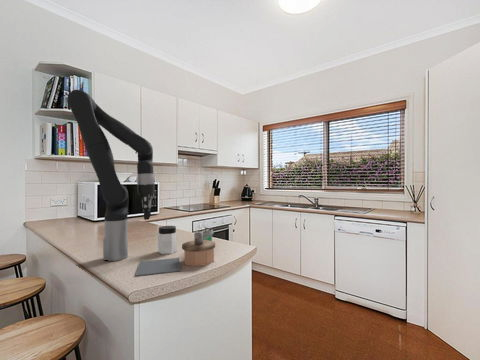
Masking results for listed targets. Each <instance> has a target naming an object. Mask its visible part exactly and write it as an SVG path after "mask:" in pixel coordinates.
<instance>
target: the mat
mask: <svg viewBox="0 0 480 360" xmlns="http://www.w3.org/2000/svg"><path fill="white" fill-rule="evenodd" d="M181 269H182V267H181V261H180V257H174V258H163V259H152V260H142V261H139V263H138V267H137V269H136V272H135V276H134V277H144V276H150V275H151V276H152V275H153V276H154V275H158V274H159V275H160V274H168V273H177V272H181V271H182V270H181Z"/></svg>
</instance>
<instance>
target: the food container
mask: <svg viewBox="0 0 480 360" xmlns="http://www.w3.org/2000/svg"><path fill="white" fill-rule="evenodd" d="M200 232H203V240H209V241H213V234H214V230H213V228H211V227H204V229H203V230H201V231H200Z"/></svg>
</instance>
